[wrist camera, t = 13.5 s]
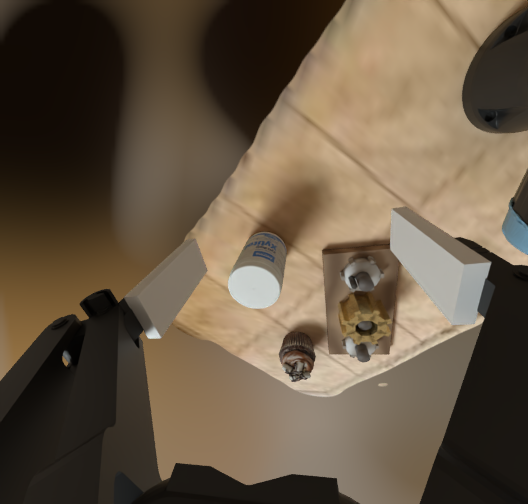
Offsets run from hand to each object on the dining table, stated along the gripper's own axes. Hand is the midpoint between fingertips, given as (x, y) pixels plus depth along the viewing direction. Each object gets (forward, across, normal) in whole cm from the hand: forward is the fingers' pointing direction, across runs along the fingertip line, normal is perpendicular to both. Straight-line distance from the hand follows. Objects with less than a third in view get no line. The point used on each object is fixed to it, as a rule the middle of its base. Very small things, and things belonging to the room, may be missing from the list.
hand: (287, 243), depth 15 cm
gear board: (+31, +10, -33) cm, 46 cm away
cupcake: (+31, -6, -45) cm, 55 cm away
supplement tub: (+31, -9, -15) cm, 36 cm away
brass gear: (+29, +10, -32) cm, 45 cm away
